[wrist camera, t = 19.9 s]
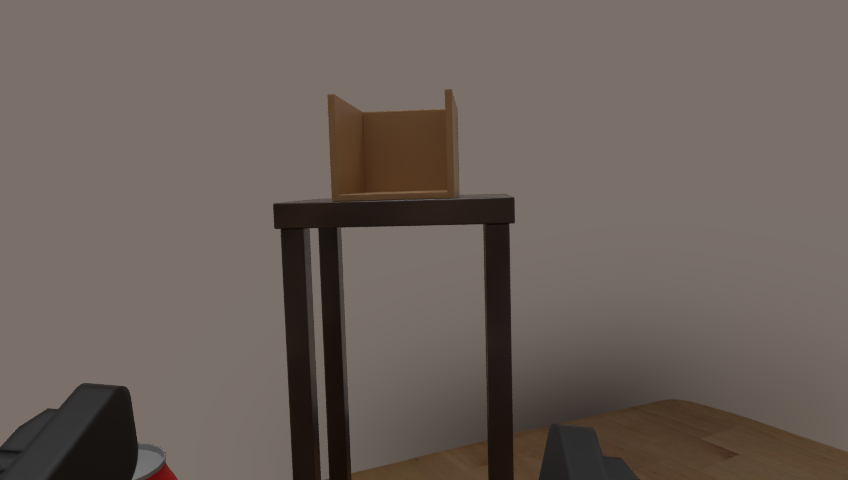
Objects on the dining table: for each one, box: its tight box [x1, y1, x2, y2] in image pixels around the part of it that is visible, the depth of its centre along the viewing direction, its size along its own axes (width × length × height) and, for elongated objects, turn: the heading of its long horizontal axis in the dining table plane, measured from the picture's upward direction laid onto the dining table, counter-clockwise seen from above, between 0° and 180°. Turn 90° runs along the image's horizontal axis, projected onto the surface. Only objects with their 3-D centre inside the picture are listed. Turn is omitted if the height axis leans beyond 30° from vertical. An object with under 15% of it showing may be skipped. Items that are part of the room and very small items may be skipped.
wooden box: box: [328, 89, 459, 202], centre depth 40 cm, size 7×10×6 cm
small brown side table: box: [273, 194, 515, 480], centre depth 42 cm, size 14×10×28 cm
